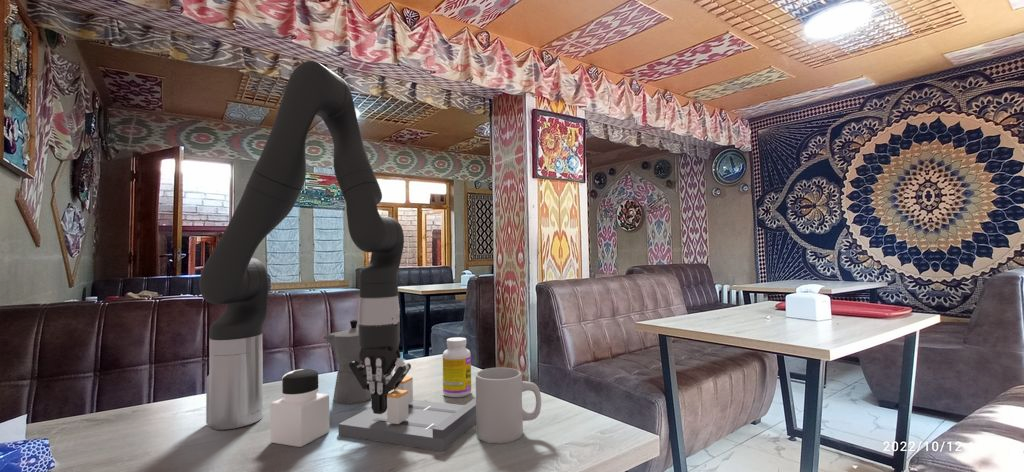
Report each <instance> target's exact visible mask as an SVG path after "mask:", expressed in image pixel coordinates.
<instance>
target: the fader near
mask: <svg viewBox="0 0 1024 472" xmlns="http://www.w3.org/2000/svg"><path fill="white" fill-rule="evenodd" d="M406 419H408V390H399V389H397V390H395V391H394V390H392V391H390V392H389V393H388V394H387V423H393V424H400V423H401V422H403V421H404V420H406Z"/></svg>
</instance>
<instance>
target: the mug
mask: <svg viewBox="0 0 1024 472" xmlns="http://www.w3.org/2000/svg"><path fill="white" fill-rule="evenodd" d="M526 391H528V392H532V393H534V396H535V406H534V407H535V408H534V409H533V410H531V411H528V410H525V409H523V392H526ZM475 399H476V424H475V430H476V431H475V432H476V434H475V435H476V436H477V438H478V439H479V440H480V441H482V442H485V443H487V444H489V443H490V444H507V443H511V442H514V441H517V440H519V439H520V438H522V436H523V433H524V423H523V422H526V421H528V422H529V421H533V420H536V419H537V418H538V417H539V416H540V413H541V410H542V409H541V408H542V395H541V391H540V388H539V386H538V385H537V384H536V383H535V382H531V381H527V380H526V381H524V380H523V379H522V373H521V371H520V370H519V369H516V368H511V367H490V368H485V369H482V370H479V371H478V372H476V374H475Z"/></svg>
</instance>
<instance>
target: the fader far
mask: <svg viewBox="0 0 1024 472" xmlns="http://www.w3.org/2000/svg"><path fill="white" fill-rule="evenodd" d="M413 380H414V379H413V377H412V376H405V377H404V379H403V380H402V381H401V383H400V384H399V386H398V387H397V388H396V389H393V391H395V390H397V389H399V390H408V404H410V403H412V402H413V400H414V397H413V395H414V389H413V387H414V386H413V385H414V383H413Z"/></svg>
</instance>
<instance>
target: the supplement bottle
mask: <svg viewBox="0 0 1024 472" xmlns="http://www.w3.org/2000/svg"><path fill="white" fill-rule="evenodd" d="M446 346H447V349H445V350H444V351H443V352H442V393H443V396H445V397H448V398H462V397H463V398H464V397H466V396H468V395H470V394H471V392H472V356H471V355H472V354H471V350H470V349H468V348H467V347H466V346H467V338H466V337H459V336H458V337H449V338H447V339H446Z"/></svg>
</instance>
